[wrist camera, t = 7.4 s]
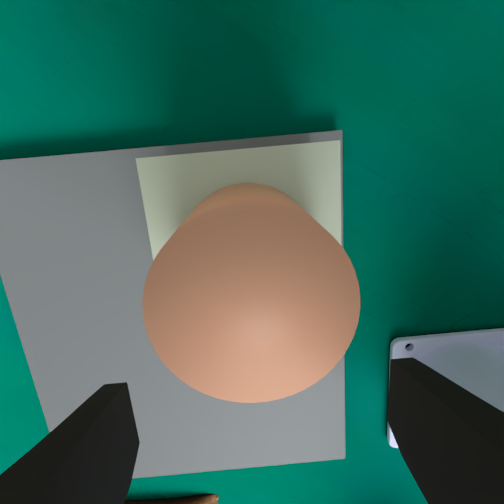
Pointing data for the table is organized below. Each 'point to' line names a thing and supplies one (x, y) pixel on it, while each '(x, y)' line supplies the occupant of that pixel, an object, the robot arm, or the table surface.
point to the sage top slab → (236, 172)
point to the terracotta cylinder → (251, 297)
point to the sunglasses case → (180, 500)
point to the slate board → (135, 317)
